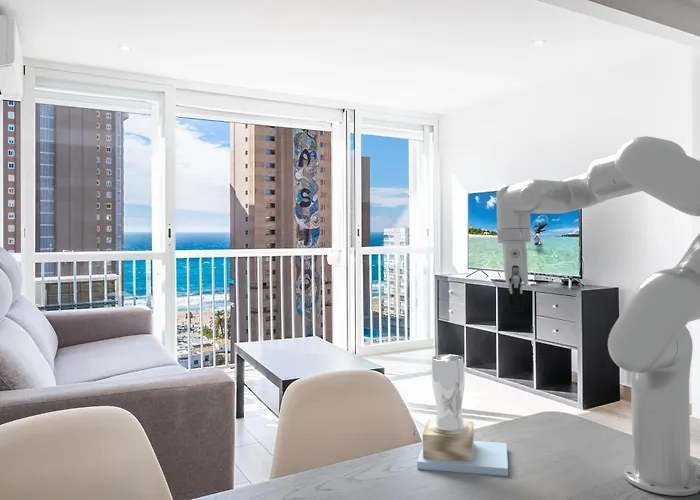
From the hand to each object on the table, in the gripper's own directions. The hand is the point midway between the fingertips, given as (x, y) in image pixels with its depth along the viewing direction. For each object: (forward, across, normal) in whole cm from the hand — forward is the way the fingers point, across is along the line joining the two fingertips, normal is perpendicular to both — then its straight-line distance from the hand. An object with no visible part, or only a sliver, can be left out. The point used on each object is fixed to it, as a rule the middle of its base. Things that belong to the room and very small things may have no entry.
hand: (515, 309), depth 128 cm
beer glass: (+24, -16, +15) cm, 32 cm away
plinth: (+29, -16, +15) cm, 36 cm away
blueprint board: (+30, -16, +12) cm, 36 cm away
